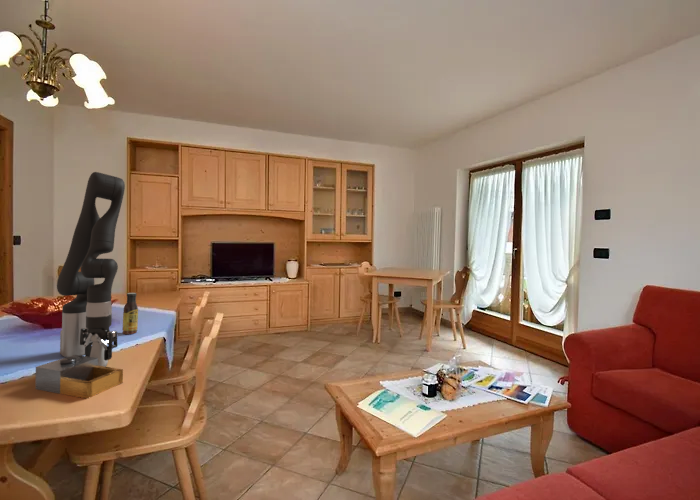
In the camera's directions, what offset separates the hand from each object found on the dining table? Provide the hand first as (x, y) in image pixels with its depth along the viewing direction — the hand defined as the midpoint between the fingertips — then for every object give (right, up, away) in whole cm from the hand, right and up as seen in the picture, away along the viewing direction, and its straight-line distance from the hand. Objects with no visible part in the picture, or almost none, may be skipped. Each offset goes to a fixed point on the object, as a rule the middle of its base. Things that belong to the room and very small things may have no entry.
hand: (98, 358), depth 123 cm
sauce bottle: (-18, -2, +46) cm, 49 cm away
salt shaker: (0, -4, 0) cm, 4 cm away
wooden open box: (+3, -5, -13) cm, 14 cm away
